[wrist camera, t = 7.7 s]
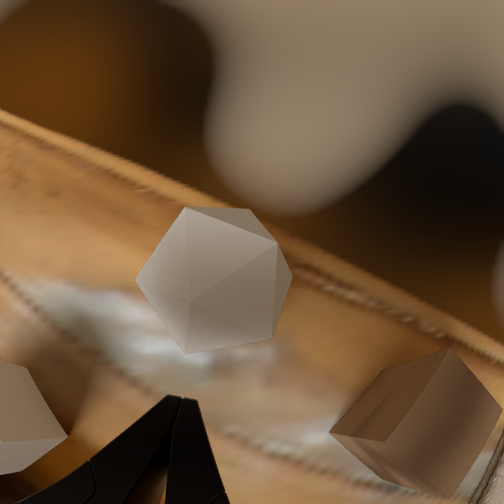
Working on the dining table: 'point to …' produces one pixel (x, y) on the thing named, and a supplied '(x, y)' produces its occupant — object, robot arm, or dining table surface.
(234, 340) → the die
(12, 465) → the pale grey block
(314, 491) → the dining table surface
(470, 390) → the walnut block
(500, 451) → the washcloth
